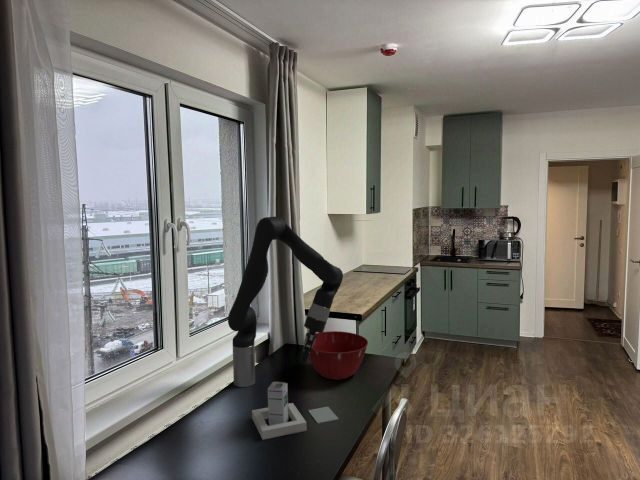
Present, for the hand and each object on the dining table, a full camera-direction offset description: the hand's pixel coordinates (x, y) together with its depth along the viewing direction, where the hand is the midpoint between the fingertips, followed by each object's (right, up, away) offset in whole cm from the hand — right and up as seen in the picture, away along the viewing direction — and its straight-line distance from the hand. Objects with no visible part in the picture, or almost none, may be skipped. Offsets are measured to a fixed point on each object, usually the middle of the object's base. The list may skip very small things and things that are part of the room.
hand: (303, 359), depth 165 cm
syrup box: (-8, -22, -5) cm, 24 cm away
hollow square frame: (-8, -21, -5) cm, 24 cm away
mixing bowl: (+14, -17, +39) cm, 44 cm away
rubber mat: (+7, -21, +1) cm, 22 cm away
